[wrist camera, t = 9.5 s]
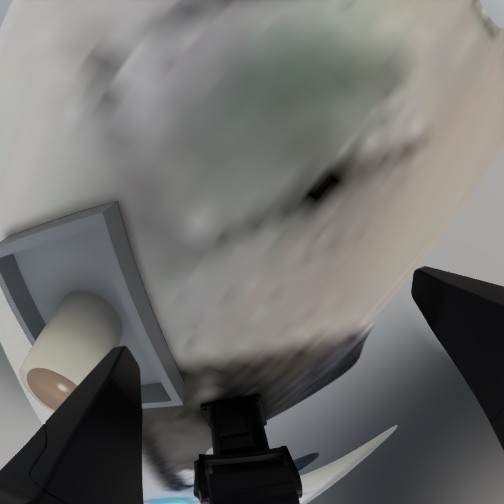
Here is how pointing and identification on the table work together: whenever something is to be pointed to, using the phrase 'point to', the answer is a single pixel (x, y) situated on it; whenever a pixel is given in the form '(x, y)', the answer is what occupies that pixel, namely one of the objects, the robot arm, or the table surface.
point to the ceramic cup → (70, 347)
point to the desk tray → (89, 288)
